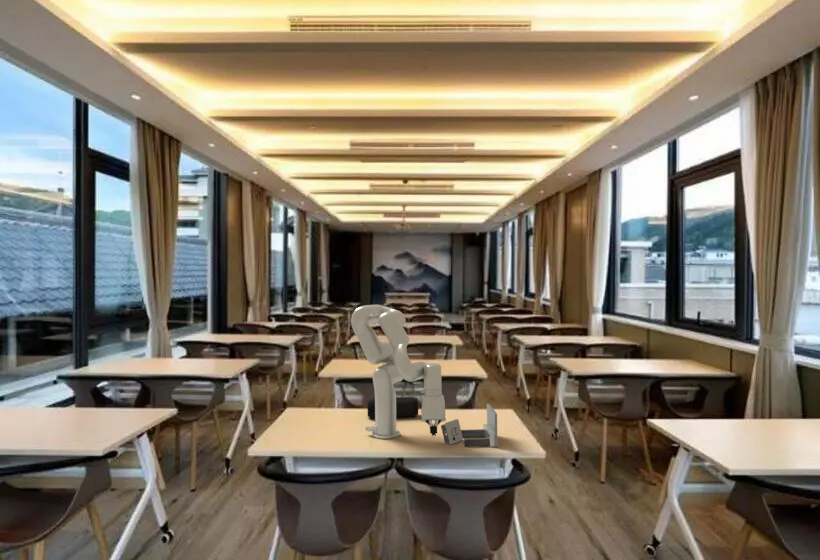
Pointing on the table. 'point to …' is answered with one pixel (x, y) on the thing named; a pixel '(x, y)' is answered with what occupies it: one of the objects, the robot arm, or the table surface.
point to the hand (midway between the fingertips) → (433, 434)
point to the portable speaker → (398, 407)
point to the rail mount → (483, 432)
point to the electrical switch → (452, 432)
